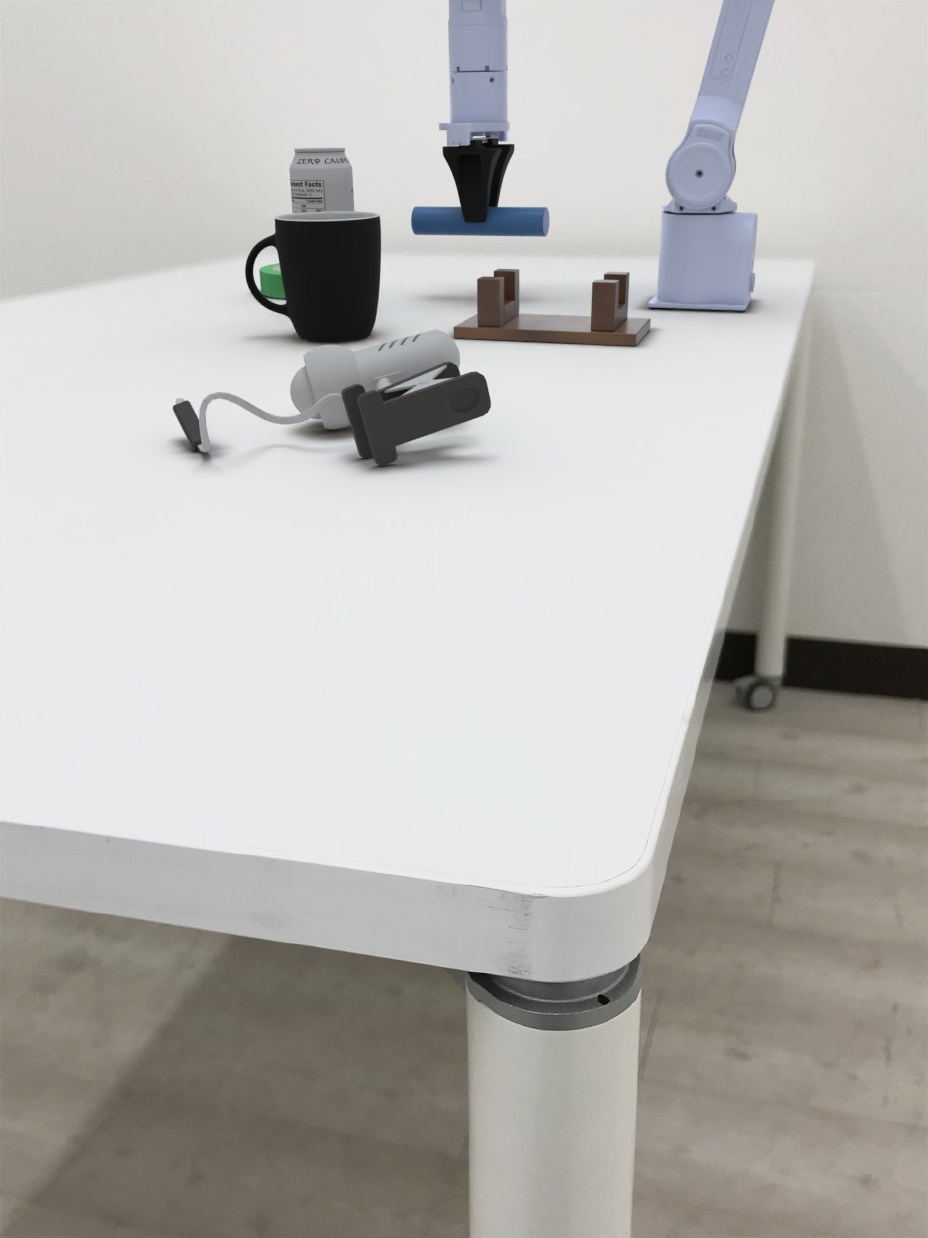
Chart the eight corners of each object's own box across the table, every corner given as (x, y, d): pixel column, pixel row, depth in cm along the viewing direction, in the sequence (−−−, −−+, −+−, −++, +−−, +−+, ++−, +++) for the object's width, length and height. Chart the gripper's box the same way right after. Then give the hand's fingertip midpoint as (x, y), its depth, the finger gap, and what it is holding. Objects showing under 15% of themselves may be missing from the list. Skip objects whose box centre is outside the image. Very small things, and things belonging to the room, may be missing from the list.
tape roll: (355, 298, 118) (354, 272, 117) (252, 299, 118) (250, 274, 117) (365, 284, 128) (364, 259, 127) (270, 285, 128) (268, 261, 127)
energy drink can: (370, 310, 111) (362, 147, 105) (316, 316, 108) (305, 149, 102) (341, 302, 116) (332, 146, 109) (289, 308, 113) (277, 148, 106)
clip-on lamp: (193, 529, 62) (502, 440, 62) (151, 424, 58) (478, 332, 59) (196, 452, 72) (463, 376, 72) (161, 359, 68) (441, 281, 69)
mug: (390, 327, 102) (386, 210, 98) (379, 345, 94) (373, 219, 90) (262, 327, 103) (252, 211, 98) (239, 346, 95) (227, 221, 90)
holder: (650, 329, 99) (653, 271, 97) (635, 346, 92) (639, 284, 90) (479, 322, 104) (479, 267, 102) (453, 338, 97) (452, 278, 95)
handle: (549, 235, 113) (549, 206, 112) (542, 237, 111) (543, 207, 110) (420, 233, 117) (419, 205, 116) (411, 235, 115) (410, 207, 114)
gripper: (462, 75, 115) (464, 214, 121) (414, 71, 103) (419, 226, 108) (527, 73, 113) (526, 214, 119) (487, 69, 101) (488, 227, 106)
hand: (479, 220), depth 113 cm, fingers closed on handle, 3 cm apart
